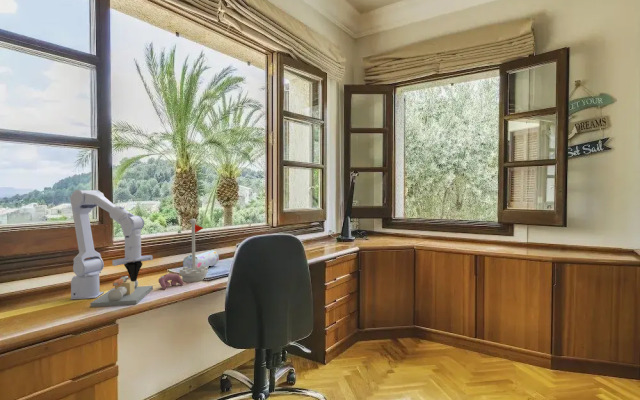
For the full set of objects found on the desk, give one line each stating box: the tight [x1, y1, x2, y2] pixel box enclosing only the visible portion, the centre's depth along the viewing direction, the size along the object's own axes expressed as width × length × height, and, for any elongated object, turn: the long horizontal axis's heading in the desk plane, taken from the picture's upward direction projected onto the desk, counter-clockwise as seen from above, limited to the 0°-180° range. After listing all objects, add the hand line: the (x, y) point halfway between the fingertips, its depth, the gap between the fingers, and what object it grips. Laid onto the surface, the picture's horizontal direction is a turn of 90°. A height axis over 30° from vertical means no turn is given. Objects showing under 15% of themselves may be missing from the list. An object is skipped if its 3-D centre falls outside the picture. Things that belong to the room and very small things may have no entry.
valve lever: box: [112, 275, 129, 287], centre depth 142 cm, size 12×3×2 cm, turn 12°
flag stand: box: [179, 218, 209, 283], centre depth 176 cm, size 13×13×30 cm
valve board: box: [89, 278, 154, 308], centre depth 145 cm, size 16×22×7 cm
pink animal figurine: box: [158, 273, 184, 290], centre depth 162 cm, size 10×5×7 cm, turn 141°
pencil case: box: [182, 249, 220, 269], centre depth 200 cm, size 21×9×10 cm, turn 155°
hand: (133, 280), depth 141 cm, fingers closed
